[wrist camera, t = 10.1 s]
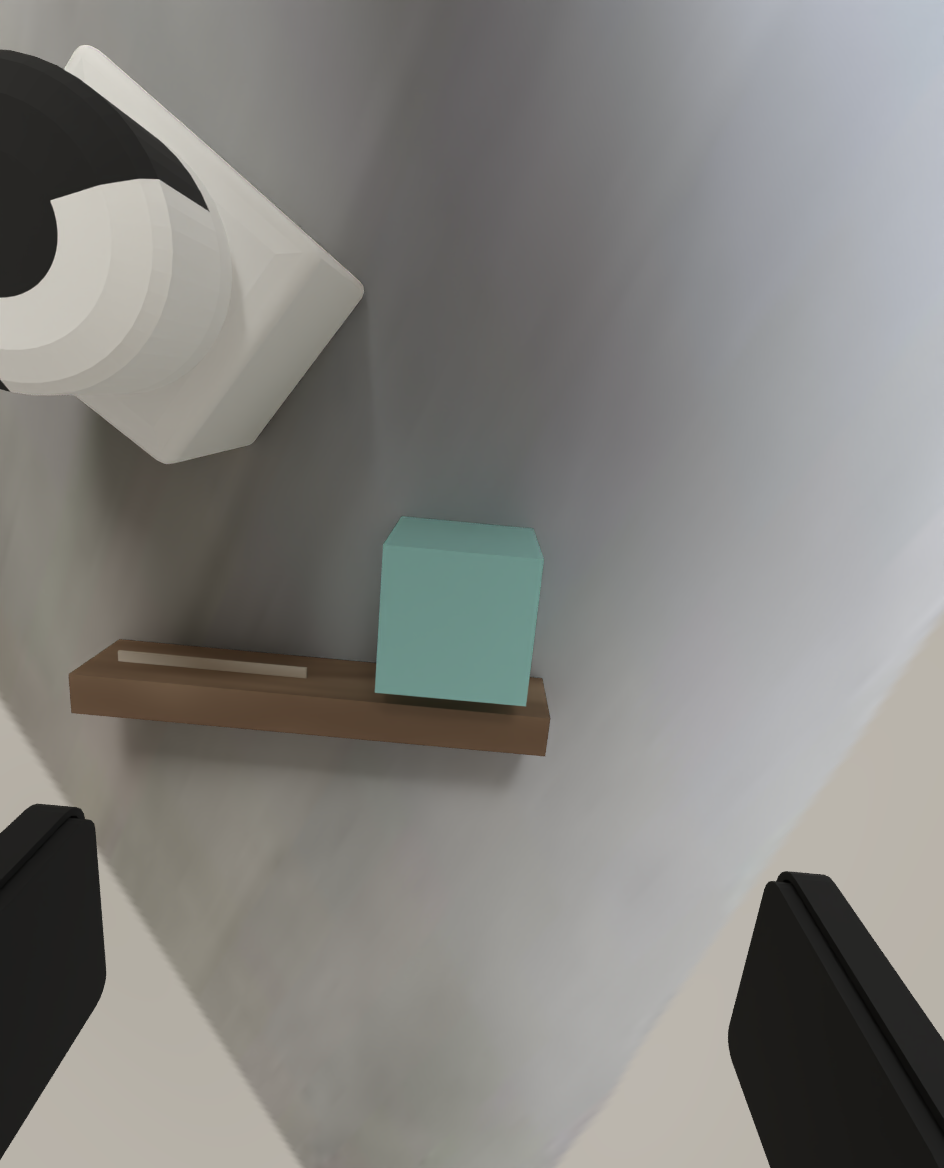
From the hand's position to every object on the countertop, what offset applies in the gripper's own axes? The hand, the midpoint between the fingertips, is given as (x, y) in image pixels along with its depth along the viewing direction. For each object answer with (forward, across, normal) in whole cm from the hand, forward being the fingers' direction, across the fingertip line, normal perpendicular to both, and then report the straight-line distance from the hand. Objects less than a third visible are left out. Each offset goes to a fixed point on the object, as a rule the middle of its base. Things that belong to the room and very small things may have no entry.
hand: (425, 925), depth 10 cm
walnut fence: (+18, +5, +5) cm, 19 cm away
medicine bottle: (+18, +9, -9) cm, 22 cm away
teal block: (+18, 0, 0) cm, 18 cm away
